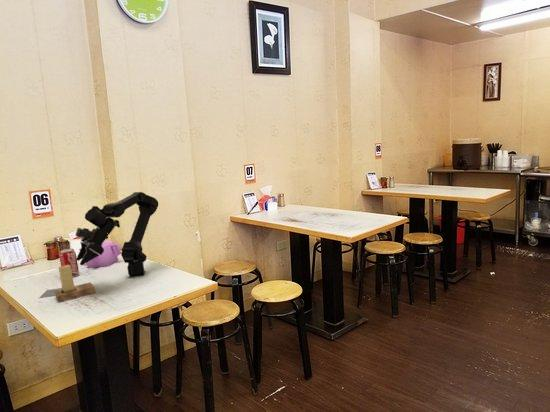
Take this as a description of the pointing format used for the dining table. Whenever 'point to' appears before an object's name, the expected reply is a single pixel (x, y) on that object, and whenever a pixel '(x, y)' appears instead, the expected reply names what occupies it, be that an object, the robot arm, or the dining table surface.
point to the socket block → (75, 292)
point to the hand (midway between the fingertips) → (78, 262)
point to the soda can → (69, 260)
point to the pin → (66, 278)
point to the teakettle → (106, 255)
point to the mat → (49, 293)
